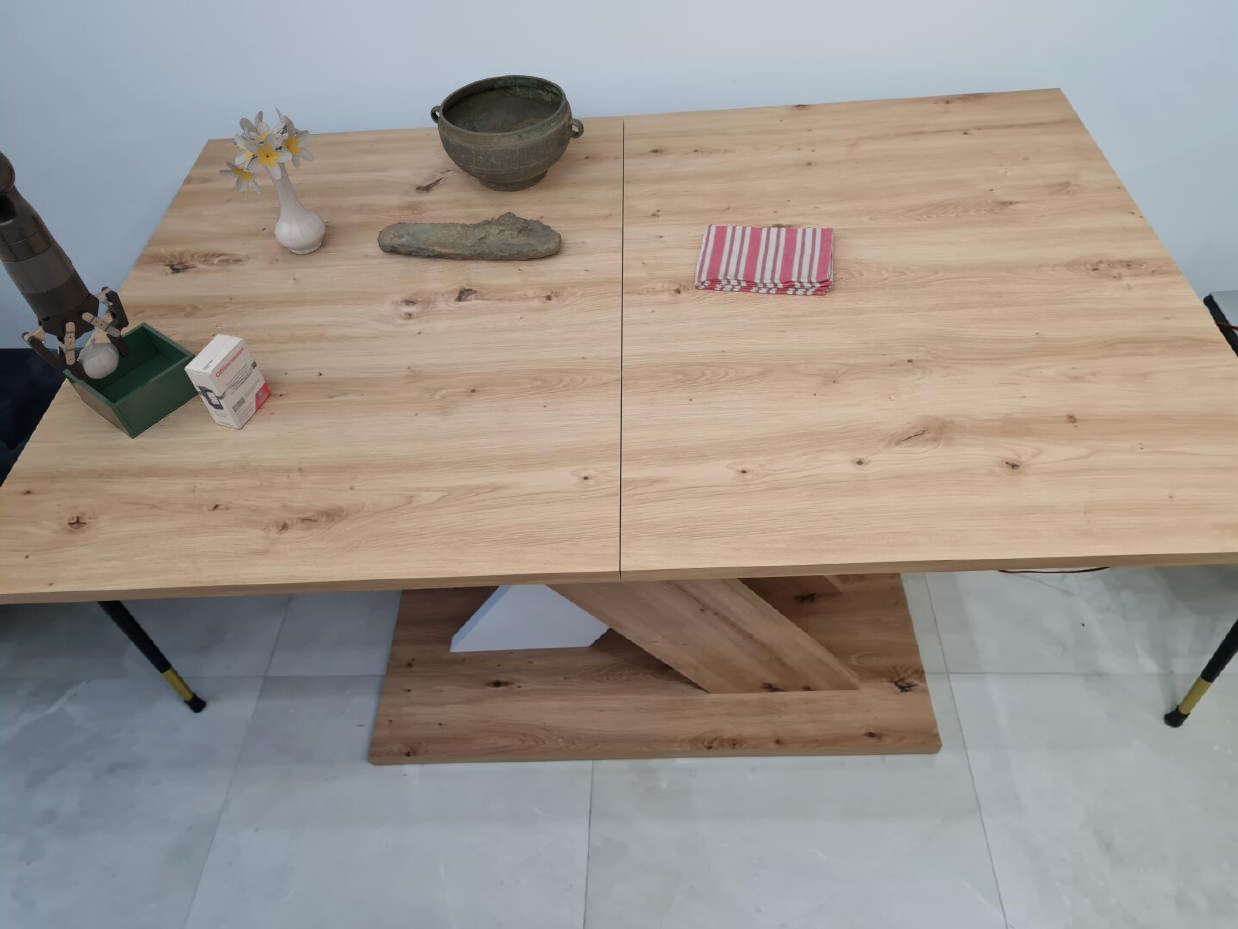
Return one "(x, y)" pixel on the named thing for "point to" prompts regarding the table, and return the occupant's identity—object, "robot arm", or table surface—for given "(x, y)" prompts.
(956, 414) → the table surface
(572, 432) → the table surface
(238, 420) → the ink box
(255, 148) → the flower vase
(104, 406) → the green tapered tray
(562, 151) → the bowl
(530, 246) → the elongated rock
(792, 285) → the dish towel
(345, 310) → the table surface
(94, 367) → the garlic
